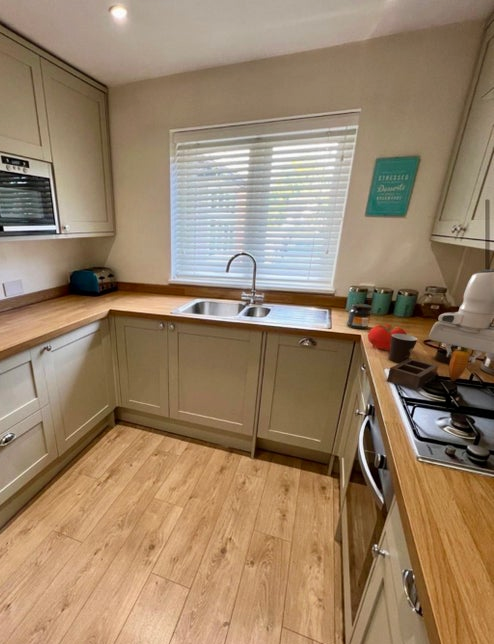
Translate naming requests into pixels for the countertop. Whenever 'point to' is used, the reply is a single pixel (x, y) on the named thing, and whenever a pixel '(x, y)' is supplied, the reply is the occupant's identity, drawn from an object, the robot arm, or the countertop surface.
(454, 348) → the french press
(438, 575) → the countertop surface
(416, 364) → the brown rectangular box
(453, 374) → the carrot
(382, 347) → the tomato
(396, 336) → the coffee mug
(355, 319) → the supplement container
